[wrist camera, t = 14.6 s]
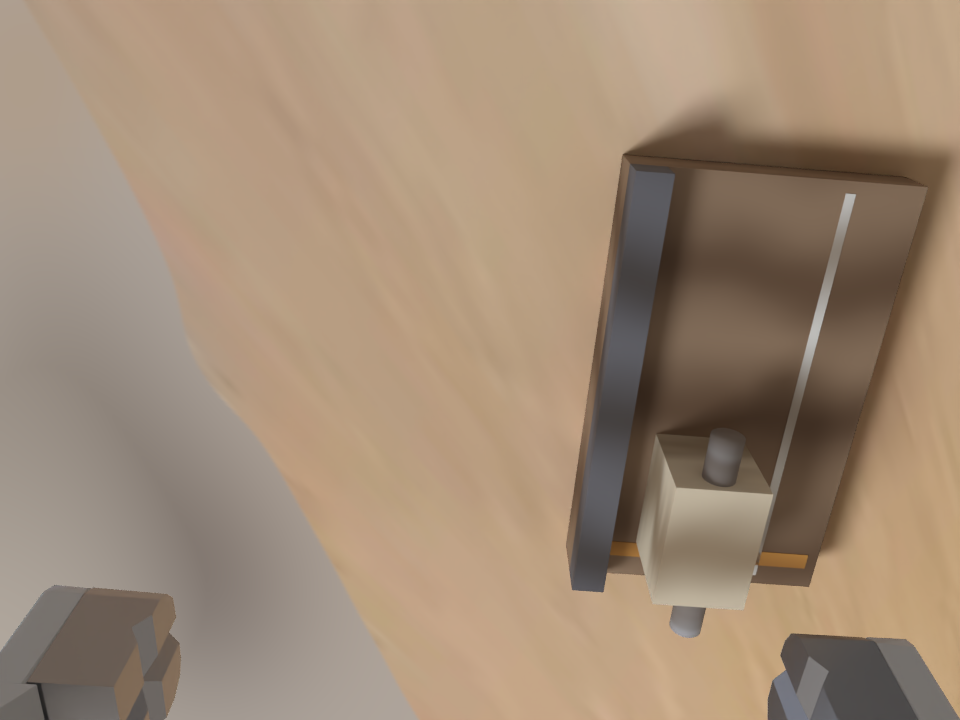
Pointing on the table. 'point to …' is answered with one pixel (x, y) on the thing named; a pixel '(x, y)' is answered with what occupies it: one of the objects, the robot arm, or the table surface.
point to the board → (736, 341)
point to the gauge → (701, 524)
